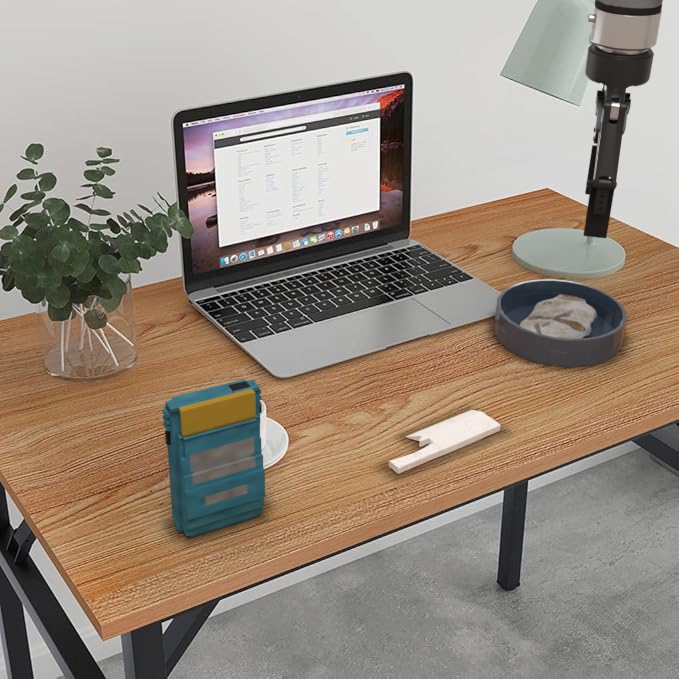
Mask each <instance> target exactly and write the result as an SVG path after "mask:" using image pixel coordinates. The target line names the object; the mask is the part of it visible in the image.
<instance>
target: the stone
mask: <svg viewBox="0 0 679 679" xmlns="http://www.w3.org/2000/svg"><path fill="white" fill-rule="evenodd" d="M532 311H533V312H532V313H531V314H530V315H529V316H528V317H527V318H526V319H525V320H523V321H522V322H521V323H520V326H521V327H522V328H525V329H527V330H530V331H532V332H535V333H538V334H543V335H547V336H551V337H558V338H567V339H580V338H584V337H587V336H588V335H589V334H590V332H591V325H592V323H593V321H594V319H595V318H596V317H597V313H596V311H595V309H594V308H593V307H591V306H590V305H588V304H587V303H586V300H584V299H581V298H578V297H574V296H569V295H562V294H560V295H558V296H557V297H555V298H552V299H547V300H543V301H541V302H538V303H537V304H536V305H535V307H534V309H533V310H532Z"/></svg>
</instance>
